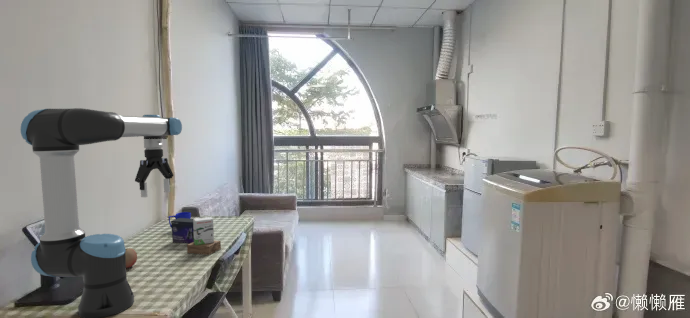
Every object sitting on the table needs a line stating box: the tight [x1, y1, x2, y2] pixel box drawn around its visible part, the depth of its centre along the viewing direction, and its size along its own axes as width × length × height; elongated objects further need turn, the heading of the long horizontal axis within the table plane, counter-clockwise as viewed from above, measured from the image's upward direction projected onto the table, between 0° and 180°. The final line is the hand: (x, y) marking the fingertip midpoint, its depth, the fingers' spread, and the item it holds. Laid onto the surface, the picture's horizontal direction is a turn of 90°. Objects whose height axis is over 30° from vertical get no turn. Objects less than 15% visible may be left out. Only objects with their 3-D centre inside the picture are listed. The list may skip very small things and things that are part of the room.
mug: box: [168, 211, 192, 229], centre depth 209 cm, size 8×12×10 cm
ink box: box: [192, 216, 215, 245], centre depth 171 cm, size 9×5×12 cm, turn 122°
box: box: [170, 218, 194, 245], centre depth 186 cm, size 17×7×12 cm, turn 76°
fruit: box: [125, 247, 138, 269], centre depth 151 cm, size 8×8×8 cm
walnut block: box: [186, 239, 222, 256], centre depth 171 cm, size 9×12×4 cm
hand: (156, 194), depth 164 cm, fingers open, 13 cm apart
